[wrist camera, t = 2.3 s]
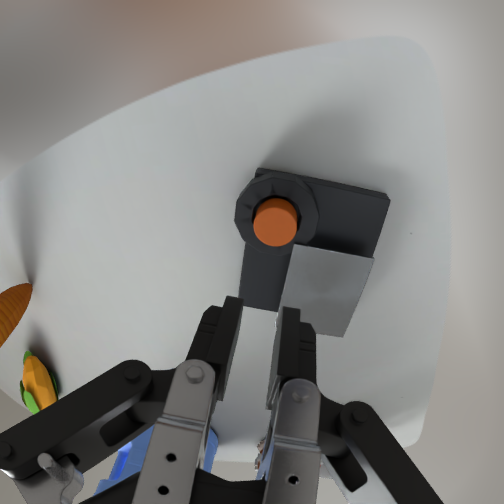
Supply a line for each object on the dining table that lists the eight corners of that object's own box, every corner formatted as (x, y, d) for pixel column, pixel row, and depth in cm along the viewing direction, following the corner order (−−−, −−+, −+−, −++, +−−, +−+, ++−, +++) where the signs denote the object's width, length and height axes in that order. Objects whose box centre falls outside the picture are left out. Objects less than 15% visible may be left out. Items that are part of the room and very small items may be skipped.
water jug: (214, 412, 41) (167, 593, 17) (222, 454, 49) (192, 589, 24) (117, 392, 42) (50, 544, 18) (143, 437, 50) (99, 559, 26)
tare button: (259, 194, 21) (256, 203, 20) (300, 201, 21) (300, 211, 20) (254, 231, 23) (250, 242, 21) (292, 238, 23) (292, 250, 21)
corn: (21, 414, 43) (-2, 364, 33) (36, 387, 50) (21, 330, 40) (52, 432, 44) (36, 387, 34) (65, 403, 51) (57, 350, 41)
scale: (246, 161, 23) (239, 172, 20) (387, 189, 22) (398, 203, 20) (230, 293, 29) (224, 315, 27) (345, 313, 29) (347, 335, 26)
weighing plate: (294, 241, 22) (293, 243, 22) (373, 257, 22) (374, 259, 22) (274, 324, 26) (274, 326, 26) (342, 335, 26) (343, 337, 26)
